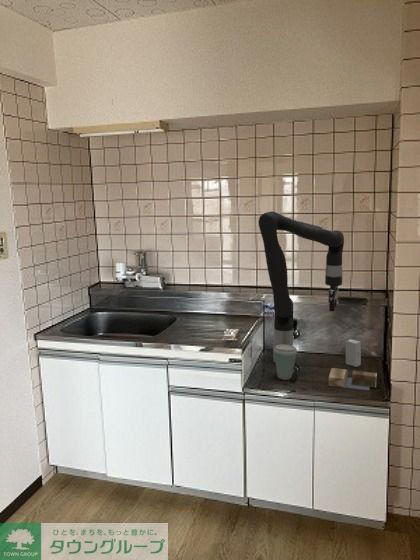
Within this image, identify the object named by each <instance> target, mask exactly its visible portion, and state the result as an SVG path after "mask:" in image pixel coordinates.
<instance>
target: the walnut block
mask: <svg viewBox="0 0 420 560" xmlns="http://www.w3.org/2000/svg"><path fill="white" fill-rule="evenodd" d="M351 375H352V376H351V378H352V385H359V386H367V387H370V388H377V380H378V379H377V377H378V376H377V372H369V371H360V370H352V372H351Z"/></svg>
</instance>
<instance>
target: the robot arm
mask: <svg viewBox="0 0 420 560" xmlns="http://www.w3.org/2000/svg"><path fill="white" fill-rule="evenodd" d="M258 228H259V232H260V235H261V238H262V242H263V246H264V247H263V248H264V256H265V260H266V261H265V262H266V267H267V273H268V277H269V281H270V285H271V286H270V287H271V288H272V294H273V295H272V296H273V310H274V321H273V322H274V325H273V326H274V327H273V328H274V329H273V333H274V335H273V336H274V337H273V338H274V339H273V341H274V342H273V344H272V352H273V353H272V357H273V361H272V362H273V363H275V364H276V361H275V353H274V348H275V346H277V345H282V344H283V345H292V346H294V302H293V299H292V298H291V297H290V294H289V287H288V279H289V278H288V266H287V265H288V264H287V260H286V256H285V253H284V251H283V249H282V247H281V245H280V242H279V237H278V231H283V232H284V231H285V232H289V233H290V234H294V235H295V236H297V237H300V238H302V239H306V240H309V241H312V242H317V243H319V244H321V245H324V246H326V247H328V248H327V249H328V251H327V253H326V259H325V260H326V261H325V262H326V263H325V270H324V271H325V278H324V284H325V285H326V286H329V289H328V305H329V306H328V307H329V309H328V310H329V312H335V308H336V307H337V303H338V302H337V301H338V300H337V299H338V296H339V286H342V285H343V251H344V244H345V237H344V234H343V233H342V231H340V230H337V229H336V230H329V229H325V228H322V227H321V226H318V225H315V224H311V223H307V222H303V221H299V220H295V219H293V218H289V217H287V216H285V215H283V214H280V213H278V212H275V211H267V212H264V213H262V214H261V215H260V216H259V218H258Z"/></svg>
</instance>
